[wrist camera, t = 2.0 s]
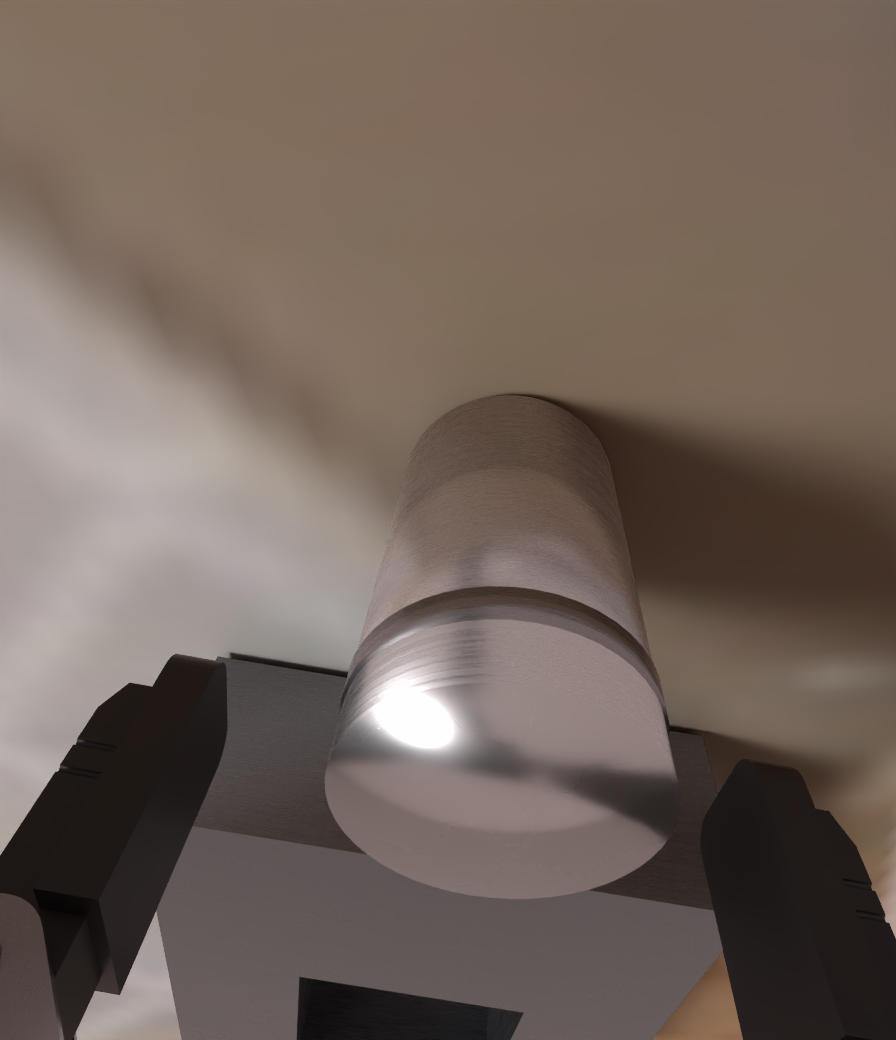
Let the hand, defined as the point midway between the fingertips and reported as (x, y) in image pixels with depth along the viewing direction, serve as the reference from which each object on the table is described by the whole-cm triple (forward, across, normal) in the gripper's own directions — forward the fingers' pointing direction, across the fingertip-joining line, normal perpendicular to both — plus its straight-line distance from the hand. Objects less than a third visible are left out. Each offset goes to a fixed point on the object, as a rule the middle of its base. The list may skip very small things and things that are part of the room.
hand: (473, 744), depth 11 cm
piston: (+6, 0, -1) cm, 7 cm away
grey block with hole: (+7, -1, +16) cm, 18 cm away
